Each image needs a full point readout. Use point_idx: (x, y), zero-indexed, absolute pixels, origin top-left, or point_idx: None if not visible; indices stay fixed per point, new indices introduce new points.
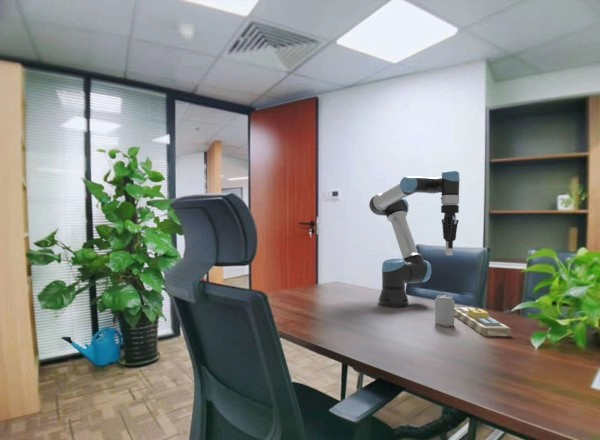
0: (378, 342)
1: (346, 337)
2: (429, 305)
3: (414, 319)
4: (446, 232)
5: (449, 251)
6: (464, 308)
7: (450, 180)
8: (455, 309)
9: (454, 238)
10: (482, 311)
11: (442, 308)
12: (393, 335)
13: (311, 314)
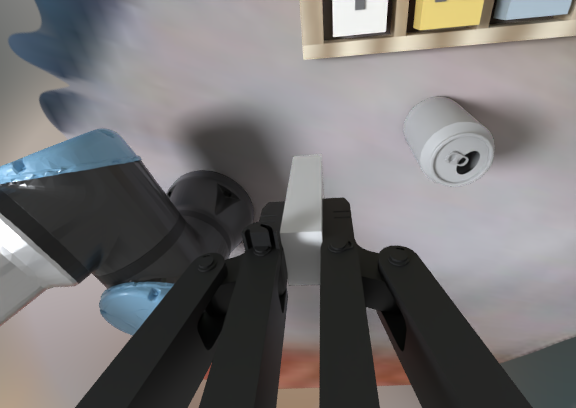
0: (533, 287)
1: (489, 324)
2: (197, 104)
3: (374, 190)
4: (276, 385)
5: (323, 196)
6: (349, 21)
7: None
8: (331, 54)
9: (417, 274)
10: None
11: (473, 160)
12: (497, 258)
13: None
